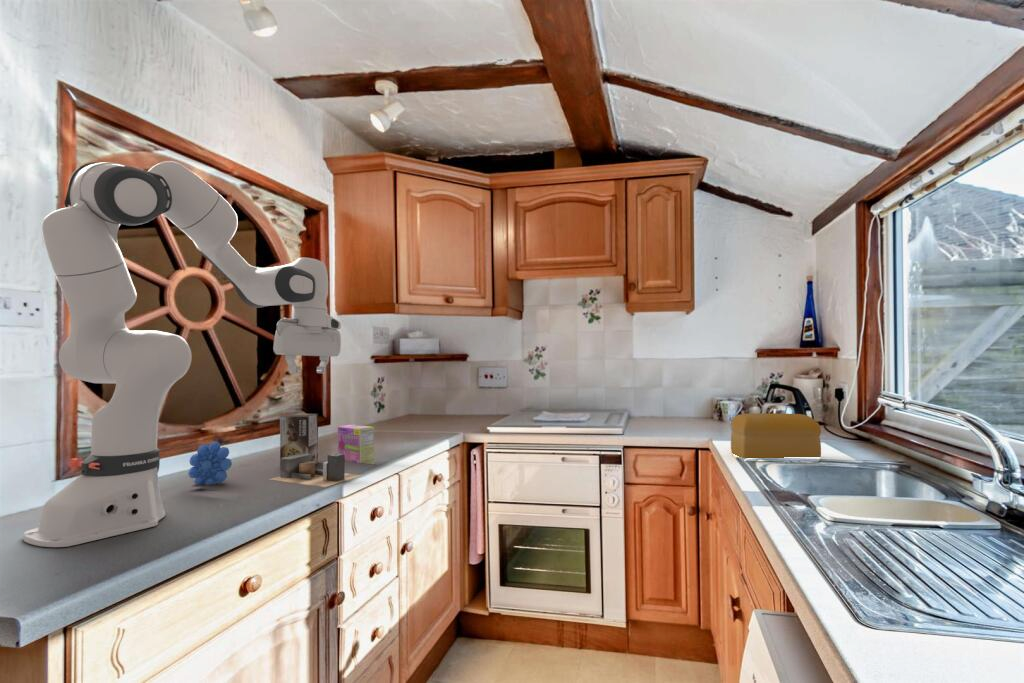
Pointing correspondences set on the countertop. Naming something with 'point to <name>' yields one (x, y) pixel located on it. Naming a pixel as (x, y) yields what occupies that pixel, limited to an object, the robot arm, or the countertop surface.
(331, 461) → the ram handle
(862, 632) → the countertop surface
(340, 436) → the box
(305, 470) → the nut puck
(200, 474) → the grapes
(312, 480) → the bench
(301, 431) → the coffee box
